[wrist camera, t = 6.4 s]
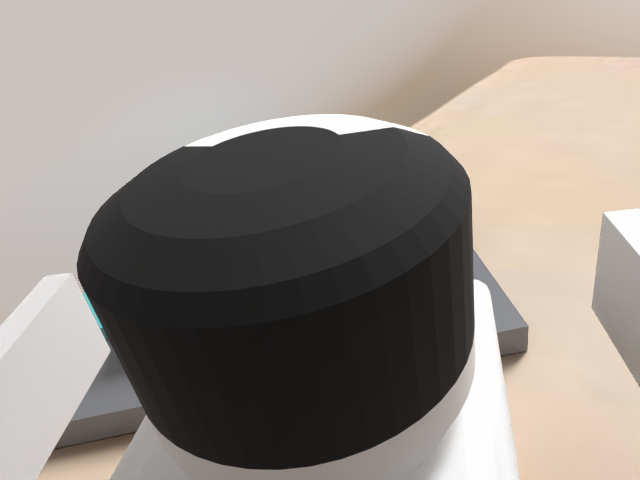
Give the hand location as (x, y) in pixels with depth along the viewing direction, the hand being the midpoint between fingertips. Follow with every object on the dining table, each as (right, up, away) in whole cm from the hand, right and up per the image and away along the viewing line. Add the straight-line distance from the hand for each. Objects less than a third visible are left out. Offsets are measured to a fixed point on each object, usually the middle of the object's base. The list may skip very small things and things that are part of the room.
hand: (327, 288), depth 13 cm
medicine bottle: (+1, -8, +1) cm, 8 cm away
